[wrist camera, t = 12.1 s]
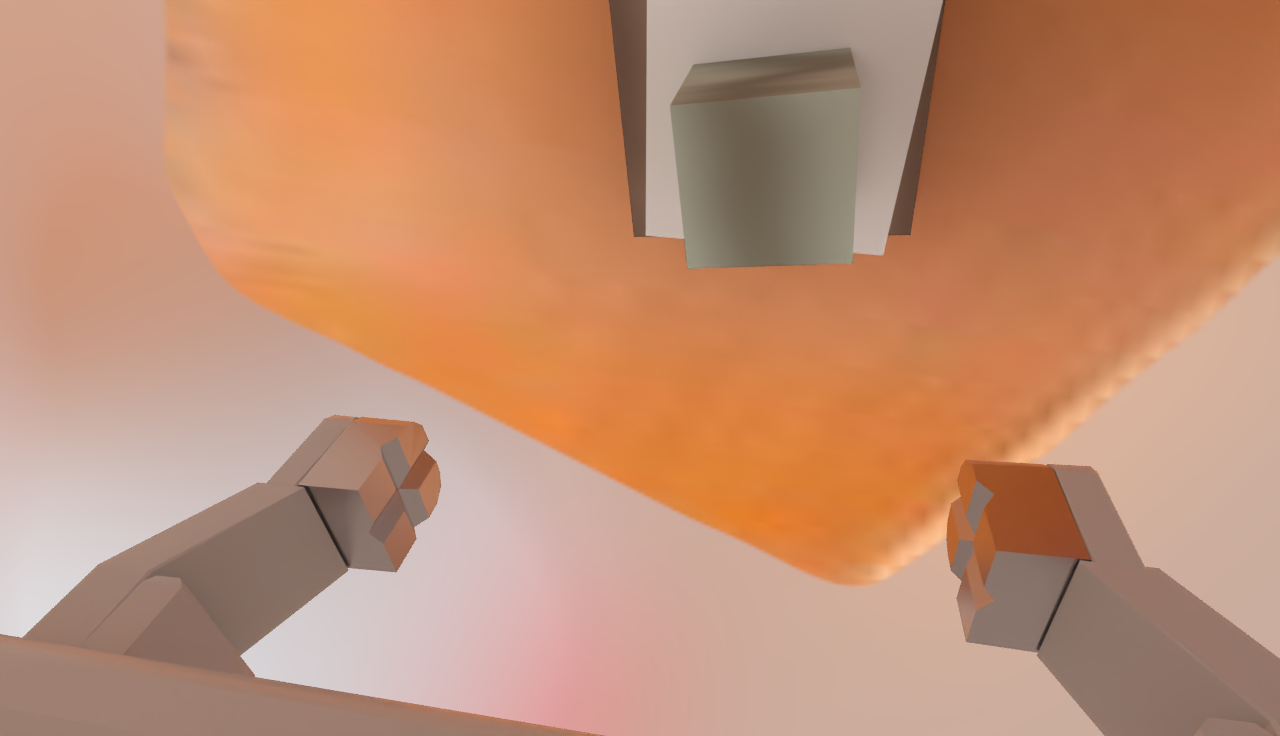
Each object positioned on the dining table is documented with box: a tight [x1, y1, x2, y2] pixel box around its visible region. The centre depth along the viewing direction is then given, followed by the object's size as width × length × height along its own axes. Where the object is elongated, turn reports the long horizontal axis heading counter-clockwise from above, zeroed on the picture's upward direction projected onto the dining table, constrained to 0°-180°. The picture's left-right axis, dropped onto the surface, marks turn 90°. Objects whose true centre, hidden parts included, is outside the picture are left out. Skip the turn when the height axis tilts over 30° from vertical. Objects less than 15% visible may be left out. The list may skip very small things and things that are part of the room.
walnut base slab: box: [609, 0, 945, 237], centre depth 28 cm, size 12×12×4 cm
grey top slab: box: [646, 0, 943, 255], centre depth 24 cm, size 9×9×4 cm
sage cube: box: [670, 48, 861, 269], centre depth 21 cm, size 5×5×5 cm
